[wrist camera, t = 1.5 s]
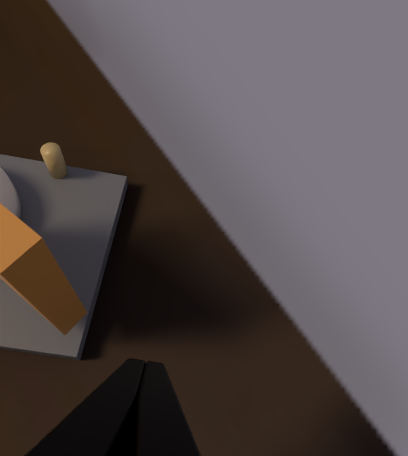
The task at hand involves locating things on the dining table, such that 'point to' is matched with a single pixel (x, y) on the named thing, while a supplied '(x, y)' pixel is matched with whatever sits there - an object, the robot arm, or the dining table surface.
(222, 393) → the dining table surface
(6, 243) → the dial
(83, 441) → the robot arm
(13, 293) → the panel
